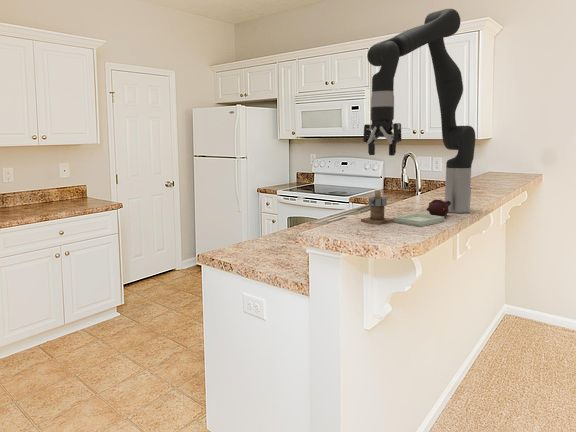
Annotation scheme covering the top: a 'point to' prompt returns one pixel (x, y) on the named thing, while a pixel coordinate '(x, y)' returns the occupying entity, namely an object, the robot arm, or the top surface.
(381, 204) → the ring
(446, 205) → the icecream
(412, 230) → the top surface
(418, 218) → the tray
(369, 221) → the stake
